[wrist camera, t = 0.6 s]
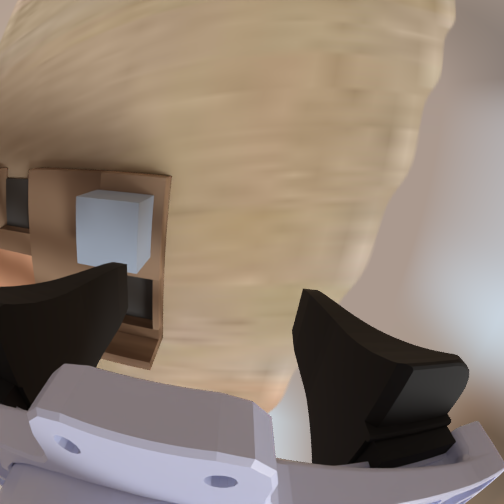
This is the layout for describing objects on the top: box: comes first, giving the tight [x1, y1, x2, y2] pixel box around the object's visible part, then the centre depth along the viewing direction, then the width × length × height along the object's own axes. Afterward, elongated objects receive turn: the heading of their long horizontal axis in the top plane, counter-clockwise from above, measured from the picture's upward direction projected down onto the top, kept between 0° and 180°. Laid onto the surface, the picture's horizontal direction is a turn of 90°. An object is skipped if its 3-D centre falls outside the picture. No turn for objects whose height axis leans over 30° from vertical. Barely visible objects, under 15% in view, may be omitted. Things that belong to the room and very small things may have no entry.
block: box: [76, 190, 154, 274], centre depth 18 cm, size 4×4×3 cm
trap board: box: [0, 168, 172, 370], centre depth 19 cm, size 14×21×4 cm, turn 81°
